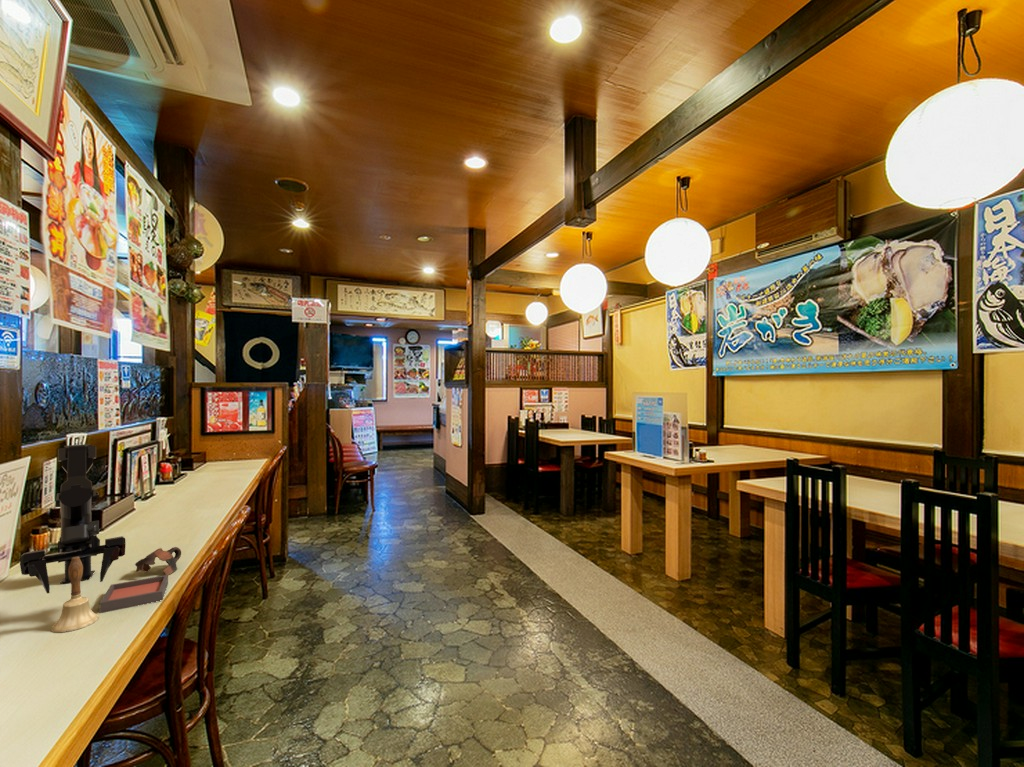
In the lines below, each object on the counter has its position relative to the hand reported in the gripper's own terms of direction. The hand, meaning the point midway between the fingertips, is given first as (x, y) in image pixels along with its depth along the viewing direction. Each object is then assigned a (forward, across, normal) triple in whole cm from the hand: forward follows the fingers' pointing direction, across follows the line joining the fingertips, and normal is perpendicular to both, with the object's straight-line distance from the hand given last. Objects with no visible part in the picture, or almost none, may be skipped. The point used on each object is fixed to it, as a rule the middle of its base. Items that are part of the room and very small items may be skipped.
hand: (75, 586), depth 111 cm
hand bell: (+6, 0, +8) cm, 10 cm away
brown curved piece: (-12, +19, +25) cm, 34 cm away
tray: (0, +12, +13) cm, 17 cm away
